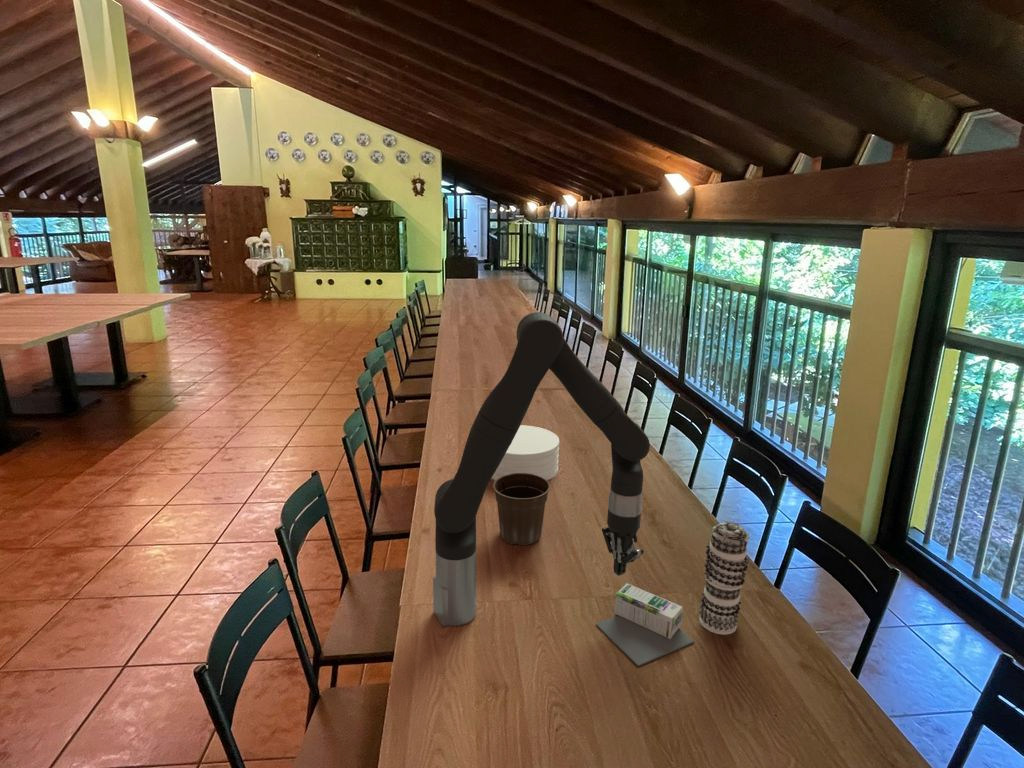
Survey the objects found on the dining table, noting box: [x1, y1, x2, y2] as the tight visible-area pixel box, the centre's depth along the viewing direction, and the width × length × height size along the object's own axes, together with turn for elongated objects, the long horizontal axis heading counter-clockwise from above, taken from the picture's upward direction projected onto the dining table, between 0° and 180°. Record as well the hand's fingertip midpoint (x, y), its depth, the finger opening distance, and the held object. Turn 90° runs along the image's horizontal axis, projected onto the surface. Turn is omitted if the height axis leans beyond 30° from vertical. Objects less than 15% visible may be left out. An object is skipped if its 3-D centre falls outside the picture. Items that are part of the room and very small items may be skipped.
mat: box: [595, 614, 695, 668], centre depth 140 cm, size 16×15×1 cm
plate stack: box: [491, 424, 560, 481], centre depth 223 cm, size 28×28×12 cm
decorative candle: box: [698, 521, 751, 636], centre depth 141 cm, size 9×9×25 cm
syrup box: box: [614, 583, 684, 639], centre depth 143 cm, size 6×6×14 cm
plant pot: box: [492, 473, 551, 546], centre depth 178 cm, size 16×16×16 cm
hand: (619, 573), depth 145 cm, fingers closed
